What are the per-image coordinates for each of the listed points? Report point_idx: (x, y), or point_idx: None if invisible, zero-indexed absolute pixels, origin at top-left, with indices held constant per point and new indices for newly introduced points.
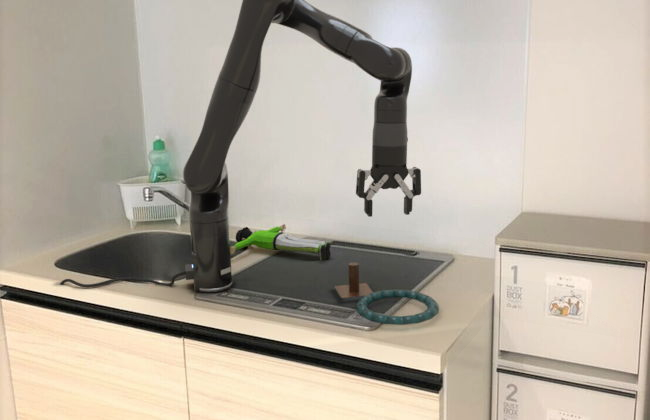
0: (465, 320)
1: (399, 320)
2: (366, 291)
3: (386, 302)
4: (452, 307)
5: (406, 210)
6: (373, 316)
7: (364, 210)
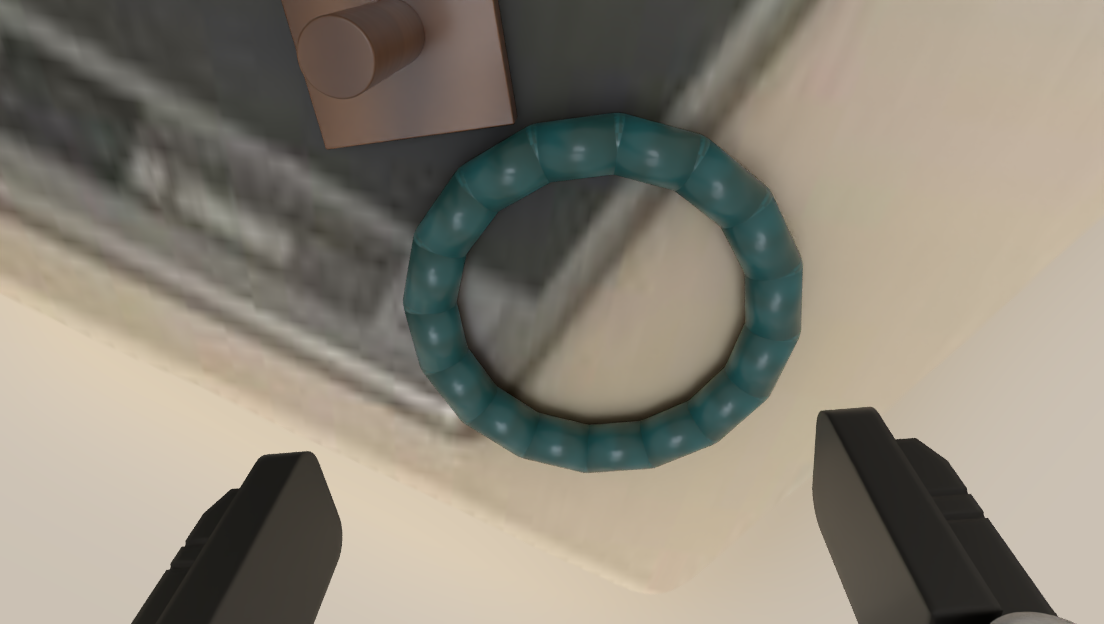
0: None
1: (575, 470)
2: (467, 66)
3: None
4: (881, 277)
5: (832, 550)
6: (474, 428)
7: (207, 529)
